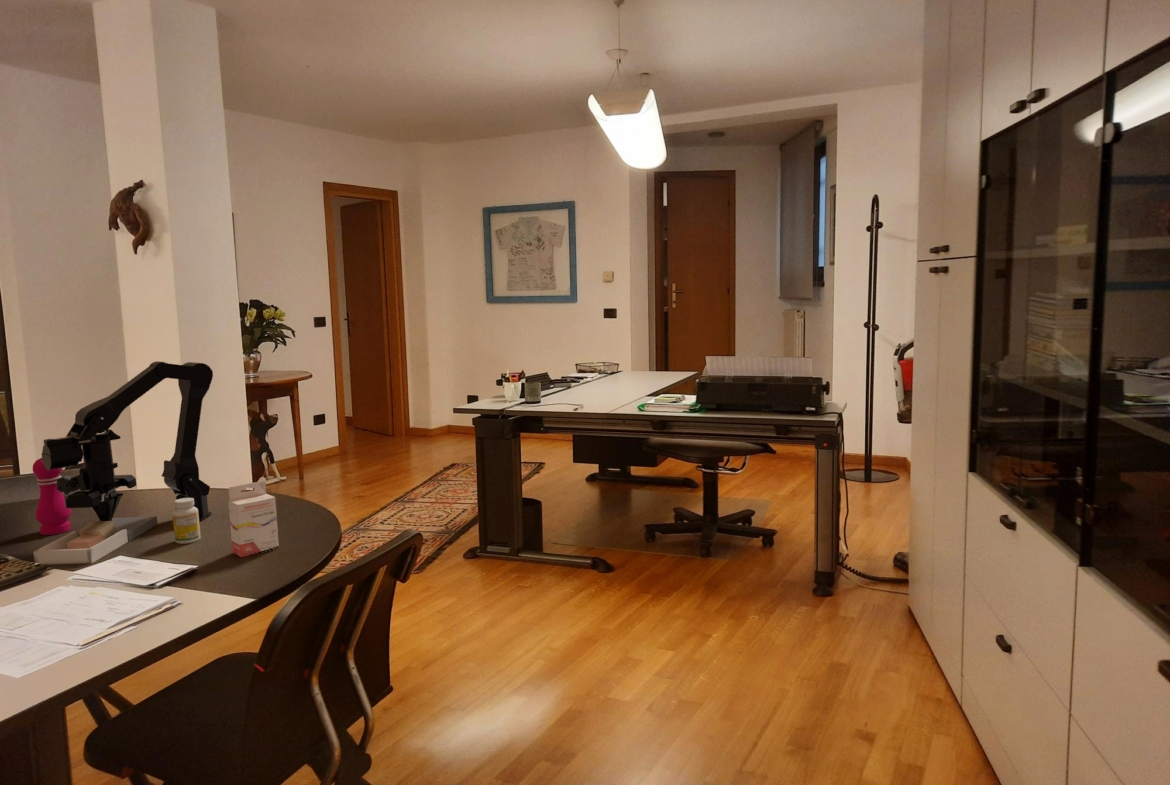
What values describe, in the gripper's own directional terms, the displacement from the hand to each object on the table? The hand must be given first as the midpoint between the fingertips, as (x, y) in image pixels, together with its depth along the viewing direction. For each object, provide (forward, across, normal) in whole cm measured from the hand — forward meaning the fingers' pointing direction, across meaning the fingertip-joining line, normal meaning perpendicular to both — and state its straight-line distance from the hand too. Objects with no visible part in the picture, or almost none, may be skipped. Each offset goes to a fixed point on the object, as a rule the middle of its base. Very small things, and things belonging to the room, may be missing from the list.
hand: (106, 526), depth 185 cm
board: (+3, -4, 0) cm, 5 cm away
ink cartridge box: (+3, +12, +39) cm, 41 cm away
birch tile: (+1, +3, 0) cm, 3 cm away
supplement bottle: (+3, +3, +20) cm, 20 cm away
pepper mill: (+3, -8, -17) cm, 19 cm away
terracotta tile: (+3, +8, 0) cm, 9 cm away
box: (+3, +10, 0) cm, 10 cm away
